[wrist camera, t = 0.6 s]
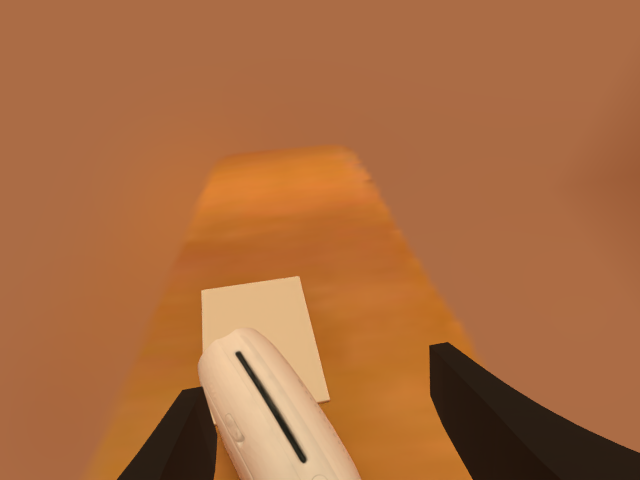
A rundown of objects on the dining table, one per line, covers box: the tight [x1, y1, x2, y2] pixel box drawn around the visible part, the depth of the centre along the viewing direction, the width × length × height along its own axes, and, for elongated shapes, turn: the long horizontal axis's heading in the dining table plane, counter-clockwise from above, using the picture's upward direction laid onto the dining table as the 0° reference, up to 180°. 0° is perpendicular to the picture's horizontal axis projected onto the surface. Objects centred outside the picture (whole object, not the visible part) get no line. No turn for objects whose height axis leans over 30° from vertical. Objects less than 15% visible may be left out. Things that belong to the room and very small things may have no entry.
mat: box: [202, 276, 330, 426], centre depth 32 cm, size 12×9×1 cm
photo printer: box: [198, 328, 361, 480], centre depth 20 cm, size 10×4×12 cm, turn 36°
